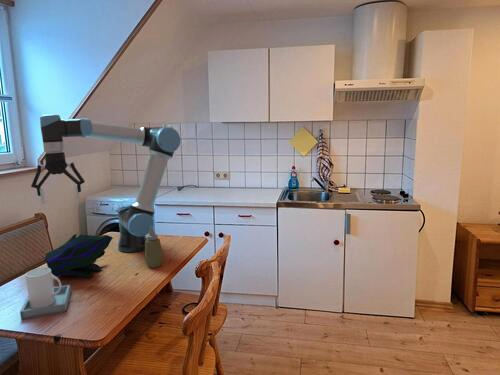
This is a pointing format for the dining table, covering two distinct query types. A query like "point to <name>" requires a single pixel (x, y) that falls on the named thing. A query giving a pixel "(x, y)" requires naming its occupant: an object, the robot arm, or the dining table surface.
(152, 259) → the squeeze bottle
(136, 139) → the robot arm
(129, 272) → the dining table surface
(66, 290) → the slate tray
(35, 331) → the dining table surface
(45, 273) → the mug
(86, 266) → the decorative plant
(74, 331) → the dining table surface
